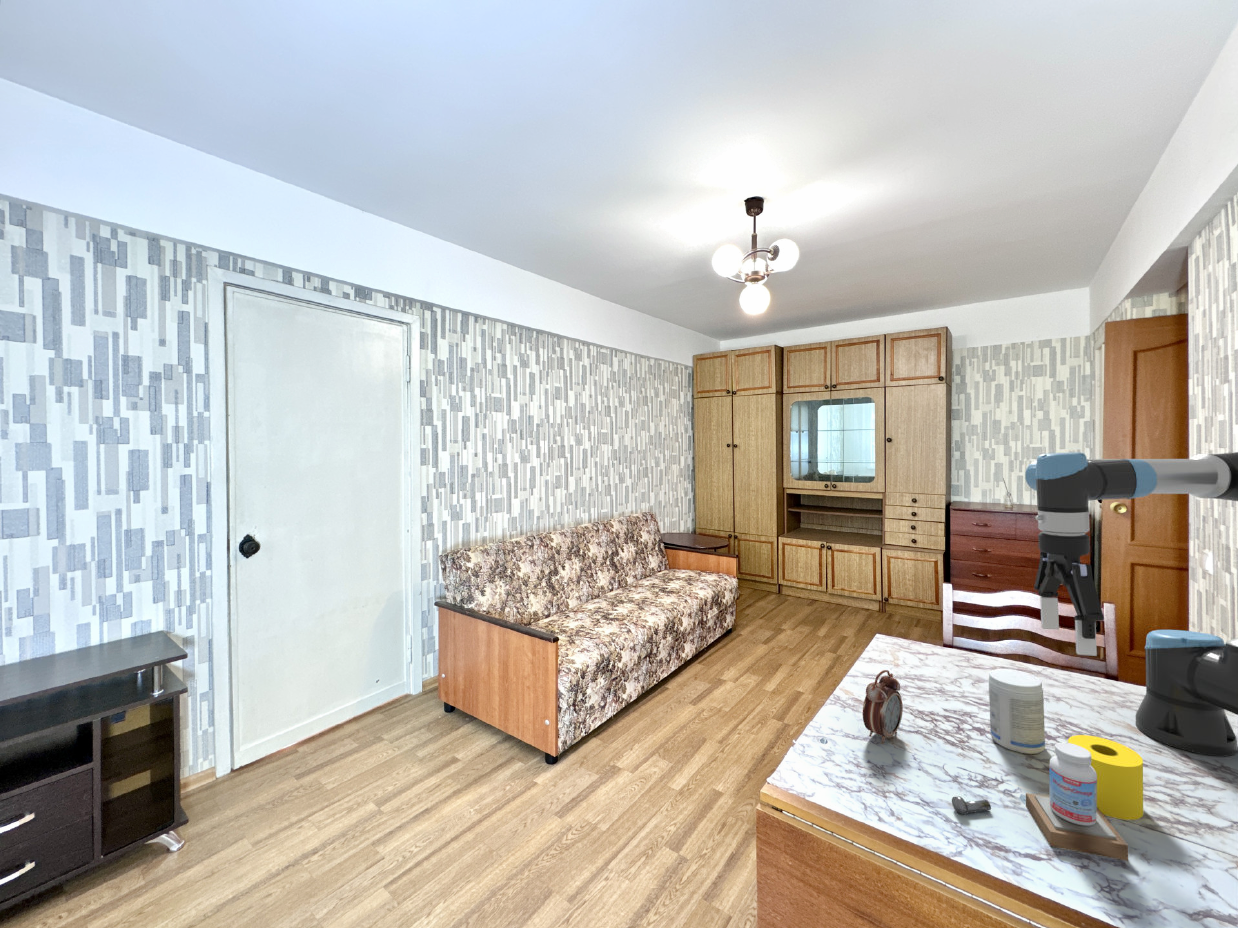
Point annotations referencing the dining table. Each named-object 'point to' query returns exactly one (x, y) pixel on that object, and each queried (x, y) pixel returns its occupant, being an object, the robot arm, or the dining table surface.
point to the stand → (1076, 831)
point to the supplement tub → (1017, 710)
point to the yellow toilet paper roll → (1115, 776)
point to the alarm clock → (883, 706)
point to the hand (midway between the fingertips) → (1067, 640)
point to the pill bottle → (1073, 784)
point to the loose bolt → (969, 805)
